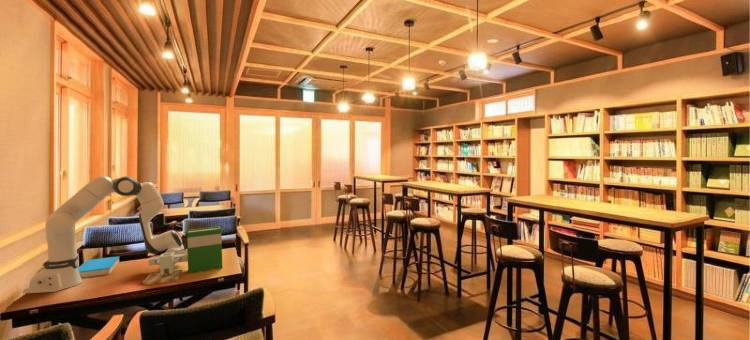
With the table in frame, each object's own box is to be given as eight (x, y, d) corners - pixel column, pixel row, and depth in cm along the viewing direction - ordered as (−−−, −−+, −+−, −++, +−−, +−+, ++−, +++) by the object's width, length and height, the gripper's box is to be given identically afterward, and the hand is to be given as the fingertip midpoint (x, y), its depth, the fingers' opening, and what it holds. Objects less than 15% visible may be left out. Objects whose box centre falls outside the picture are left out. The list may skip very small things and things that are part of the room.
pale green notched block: (160, 274, 184) (159, 256, 183) (163, 271, 190) (162, 253, 189) (172, 273, 186) (172, 255, 185) (175, 269, 192) (174, 252, 191)
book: (119, 256, 217) (110, 267, 195) (119, 262, 217) (110, 274, 195) (85, 260, 209) (71, 272, 187) (85, 267, 209) (72, 279, 187)
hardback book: (189, 273, 194) (187, 232, 192) (188, 270, 200) (186, 230, 199) (222, 268, 203) (221, 228, 202) (220, 264, 209) (219, 226, 208)
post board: (142, 284, 178) (142, 269, 177) (150, 275, 191) (149, 261, 190) (177, 280, 183) (176, 265, 183) (182, 272, 196) (181, 257, 196)
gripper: (151, 252, 196) (144, 259, 183) (191, 248, 203) (187, 255, 190) (152, 263, 196) (145, 271, 183) (191, 259, 203) (187, 266, 190)
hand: (167, 263), depth 187 cm, fingers closed on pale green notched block, 6 cm apart
